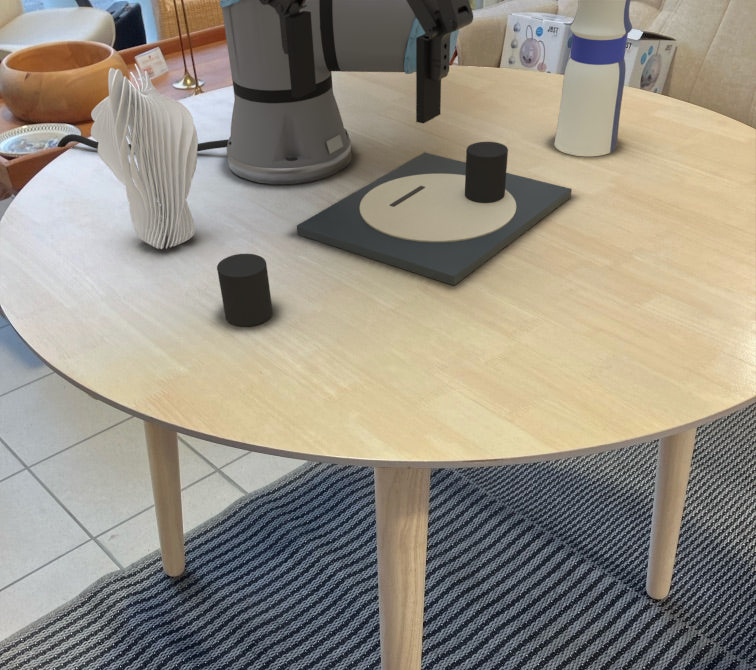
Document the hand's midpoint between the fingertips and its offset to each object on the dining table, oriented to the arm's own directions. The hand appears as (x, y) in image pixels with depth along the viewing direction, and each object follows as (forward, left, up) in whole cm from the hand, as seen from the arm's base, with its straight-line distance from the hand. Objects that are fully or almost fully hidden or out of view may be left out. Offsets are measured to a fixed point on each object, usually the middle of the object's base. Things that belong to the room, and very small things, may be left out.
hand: (363, 105), depth 76 cm
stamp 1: (-3, -15, -15) cm, 21 cm away
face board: (0, +12, -15) cm, 19 cm away
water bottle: (+4, +39, -15) cm, 42 cm away
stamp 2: (+3, +17, -14) cm, 22 cm away
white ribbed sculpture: (-21, -9, -15) cm, 27 cm away
